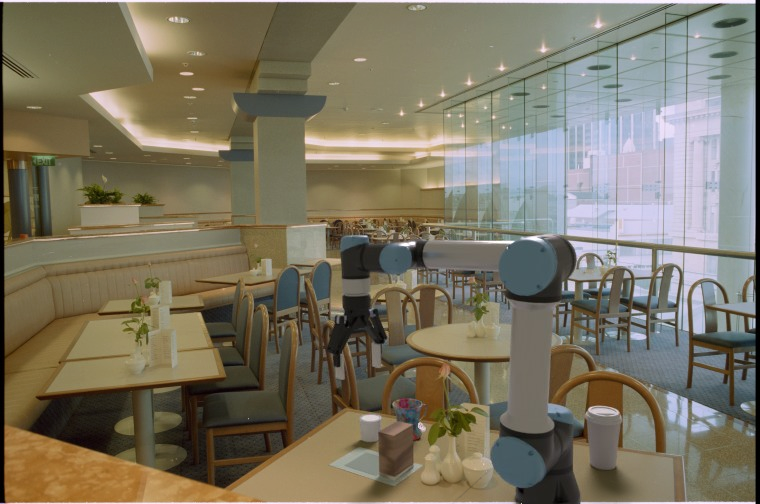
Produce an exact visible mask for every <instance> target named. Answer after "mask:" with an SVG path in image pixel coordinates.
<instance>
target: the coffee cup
mask: <svg viewBox="0 0 760 504" xmlns="http://www.w3.org/2000/svg"><path fill="white" fill-rule="evenodd" d="M584 418H585V420H586V426H587V438H588V439H587V441H588V451H589V463H590V465H591V467H594V468H595V469H598V470H602V471H603V470H604V471H611V470H613V469H616V466H617V457H618V449H619V448H618V447H619V439H620V430H621V424H622V422H623V417H622V415H621V413H620V411H619V410H618V409H617V408H614V407H610V406H605V405H594V406H590V407H588V409H587V411H586V412H585V414H584Z"/></svg>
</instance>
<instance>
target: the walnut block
mask: <svg viewBox="0 0 760 504" xmlns="http://www.w3.org/2000/svg"><path fill="white" fill-rule="evenodd" d="M378 452H379V476H382V477H385V478H388V479H391V480H394V481H395V480H397V479H398V478H400V477H401V476H402V475H404V474H405V473H407V472H408V471H409V470H411V469H412V468H414V463H415V462H414V461H415V460H414V440H413V424H409V423H404V422H400V421H397V420H396V421H395V422H393V423H391V424H389V425H388V426H386V427H383V428H381V430H380V431H379V432H378Z"/></svg>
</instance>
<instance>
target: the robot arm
mask: <svg viewBox="0 0 760 504" xmlns="http://www.w3.org/2000/svg"><path fill="white" fill-rule="evenodd" d="M339 254H340V265H341V293H343V295H342V297H341V299H342V301H341V302H342V303H341V304H342V309H343V310H344V314H343V315H340V314H336V315H335V316H334V324H333V328H332V331H331V333H330V337H329V340H328V344H327V347H326V353H328V354H332V360H333V362H332V363H333V364H332V366H333V367H334V368H335V369H334V371H335V379H338V380H341V381H343V380H346V377H345V376H346V374H345V354H343V353H342V352H343V351H344V349H345V347H346V344H347V343H348V341H349V339H350V338H351V336H352V334H353V333H354V332H355V331H357V330H360V329H364V331H365V332H366V333H367V335H368V336H369V337H370V338H371V340H372V342H371V366H372V367H374V368H377V369H381V368H382V353H383V347H382V345H383V344H385V342H386V340H387V339H388V336H387V333H386V331H385V328H384V326H383V324H382V321H381V318H380V315H379V309H378V308H376V307H375V308H373V307H372V300H371V299H372V298H371V297H372V296H371V294H370V292H371V291H372V289H371V273H376V274H377V273H378V274H389V275H403V274H405V273H407V272H408V270H412V269H427V270H428V269H432V270H433V269H436V270H456V271H457V270H459V271H479V272H496V273H497V272H498V275H499V278H500V280H501V282H502V284H503V285H504V286H505V299H506V300H507V302H509V304H511V308H512V309H511V325H510V326H511V327H510V351H509V369H508V371H509V373H508V387H507V389H508V390H507V393H508V394H507V408H506V409H507V410H506V411H505V412H504V413H502V414H501V415H500V416H499V417H500V418H499V433H498V438H497V439H496V440H495V441H494V442H493V445H492V446H491V449H490V461H491V464H492V467H493V469H494V471H495V473H497V474H498V475H499V477H500V478H501V479H502V480H503V481H504V482H506V483H507V484H508V485H511V486H513V487H515V499H516V501H517V502H518V503H519V504H520V503H522V504H581V491H580V488H579V485H578V482H577V479H576V476H575V472H574V425H575V423H574V414H573V412H572V411H571V409H570V408H567V407H565V406H563V405H560V404H555V403H551V402H550V403H549V396H550V395H549V393H550V381H551V380H550V378H551V375H550V374H551V362H552V361H551V360H552V359H551V358H552V344H553V343H552V342H553V339H552V338H553V324H554V309H555V307H557V306H558V305H560V303H562V298H563V297H562V296H563V283H564V282H566V281H567V280H568V279H569V278H571V276H572V275H573V273H574V271H575V270H576V266H577V261H578V259H577V258H578V257H577V252H576V250H575V248H574V246H573V244H572V243H571V242H570V241H569V240H568V239H567V238H565V237H563V236H562V235H560V234H555V233H544V234H538V235H527V236H522V237H520V238H518V239H516V240H456V239H455V240H452V239H451V240H450V239H449V240H448V239H447V240H445V239H444V240H442V239H440V240H436V239H434V240H433V239H430V240H426V239H424V238H423V239H422V238H416V239H411V240H406V241H404V240H403V241H395V242H388V243H372V242H370V239H369V236H368V235H364V234H357V235H355V234H354V235H353V234H351V235H350V234H349V235H344V236H342V237H341V239H340V251H339Z"/></svg>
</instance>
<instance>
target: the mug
mask: <svg viewBox="0 0 760 504" xmlns="http://www.w3.org/2000/svg"><path fill="white" fill-rule="evenodd" d="M423 406H425V411H424V413H423V415H422V416H421V417H420V415H421V410H422V408H423ZM392 408H393V409H394V412H395V417H396V421H400V422H404V423H409V424H413V441H416V440H418V439H420V438H421V437H422V431H421V429H419V428H420V427H419V428H418V423H419V424H420V422H421V421H422V420H423V419H424V418H425V416H426V415H427V414H428V409H429V408H428V405H427V404H425V403H423V402H422V401H421V400H418V399H414V398H402V399H401V398H400V399H396V400H395V401H393V402H392Z"/></svg>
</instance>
